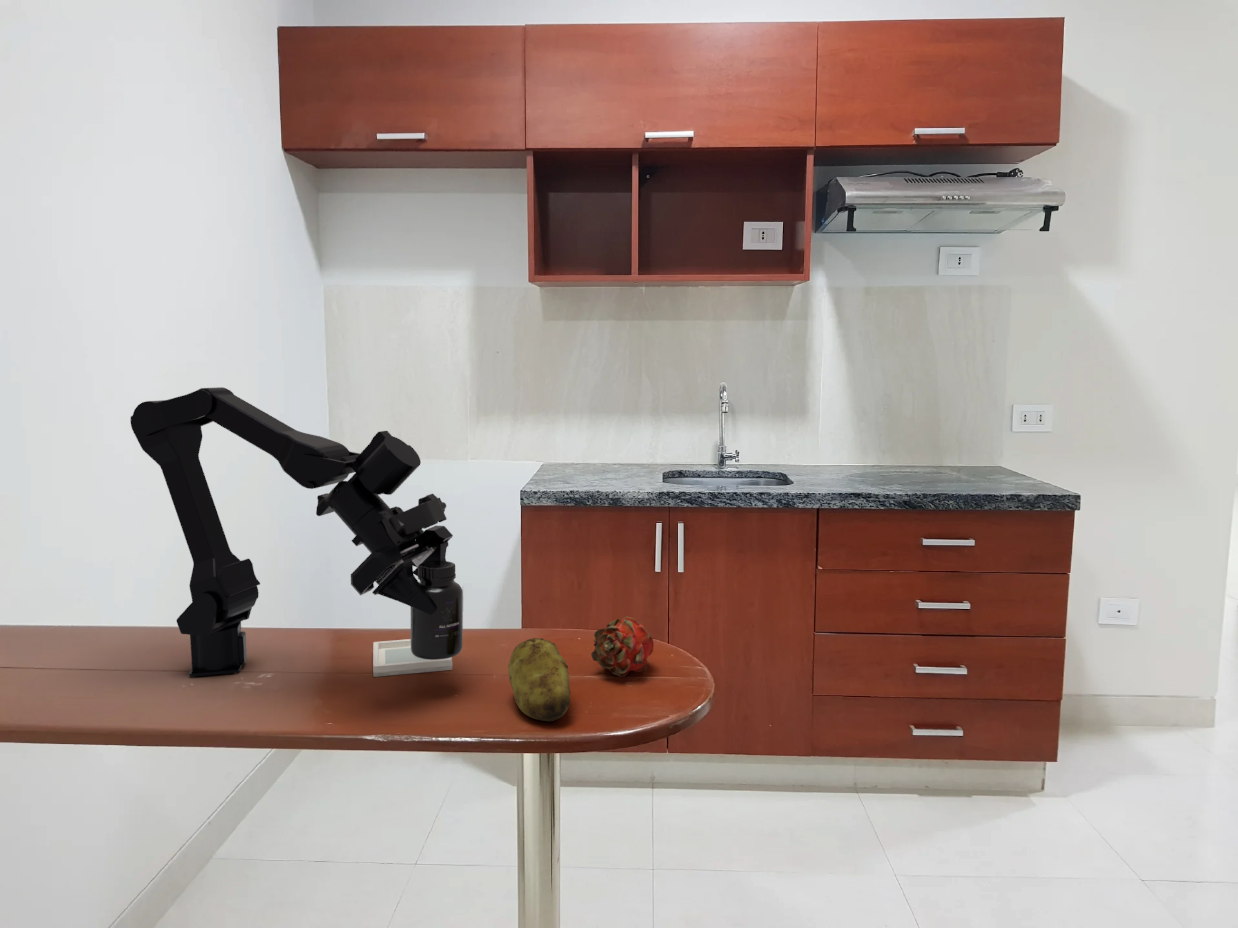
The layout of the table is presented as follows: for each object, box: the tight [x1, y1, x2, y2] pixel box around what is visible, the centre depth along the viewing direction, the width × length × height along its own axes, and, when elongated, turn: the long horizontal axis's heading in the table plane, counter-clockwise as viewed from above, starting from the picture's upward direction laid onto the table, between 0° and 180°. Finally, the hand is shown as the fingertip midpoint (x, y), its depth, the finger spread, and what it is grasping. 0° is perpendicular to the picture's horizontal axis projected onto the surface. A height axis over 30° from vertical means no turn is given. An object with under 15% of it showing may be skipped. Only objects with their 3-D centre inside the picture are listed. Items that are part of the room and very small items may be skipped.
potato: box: [508, 637, 571, 723], centre depth 108 cm, size 8×13×8 cm, turn 1°
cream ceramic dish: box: [372, 638, 453, 678], centre depth 125 cm, size 11×11×2 cm
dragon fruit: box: [590, 616, 655, 678], centre depth 121 cm, size 8×8×12 cm
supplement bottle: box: [410, 560, 464, 660], centre depth 113 cm, size 7×7×12 cm
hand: (446, 604), depth 112 cm, fingers closed on supplement bottle, 7 cm apart
